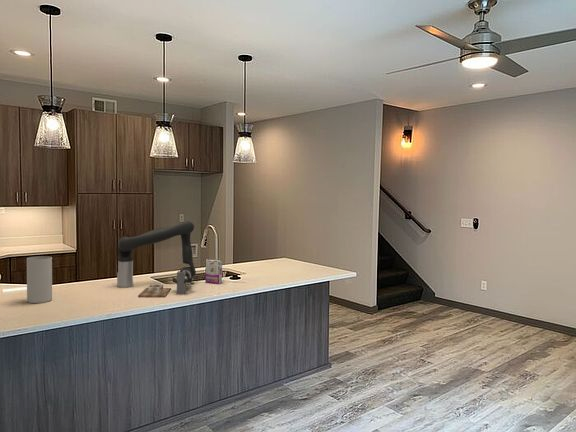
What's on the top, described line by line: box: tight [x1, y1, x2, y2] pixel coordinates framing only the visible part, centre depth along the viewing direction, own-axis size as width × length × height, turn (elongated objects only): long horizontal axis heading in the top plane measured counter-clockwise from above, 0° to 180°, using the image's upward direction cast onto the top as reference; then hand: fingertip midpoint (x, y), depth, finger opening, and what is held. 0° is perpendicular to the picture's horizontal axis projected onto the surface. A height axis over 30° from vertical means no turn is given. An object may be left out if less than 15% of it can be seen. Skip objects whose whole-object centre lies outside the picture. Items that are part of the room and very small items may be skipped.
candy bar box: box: [205, 259, 223, 285], centre depth 303 cm, size 11×5×16 cm, turn 70°
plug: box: [176, 266, 186, 295], centre depth 270 cm, size 5×5×17 cm
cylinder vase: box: [26, 255, 53, 304], centre depth 244 cm, size 12×12×25 cm
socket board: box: [137, 284, 172, 298], centre depth 269 cm, size 16×20×5 cm
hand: (180, 282), depth 267 cm, fingers closed on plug, 4 cm apart
